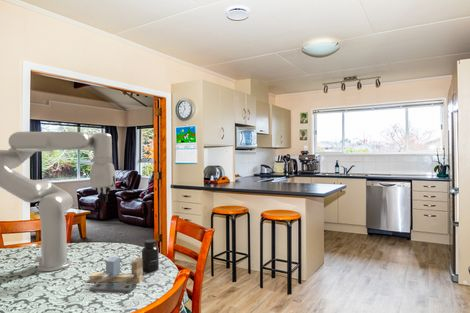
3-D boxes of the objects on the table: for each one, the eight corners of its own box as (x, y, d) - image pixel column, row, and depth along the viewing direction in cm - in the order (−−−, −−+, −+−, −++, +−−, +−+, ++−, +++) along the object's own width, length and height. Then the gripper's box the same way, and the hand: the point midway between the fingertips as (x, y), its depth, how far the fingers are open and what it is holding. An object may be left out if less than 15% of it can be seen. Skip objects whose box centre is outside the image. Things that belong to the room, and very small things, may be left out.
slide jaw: (98, 282, 113) (98, 265, 113) (113, 272, 123) (112, 257, 123) (106, 282, 113) (106, 266, 113) (120, 272, 123) (120, 257, 123)
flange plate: (89, 291, 111) (89, 287, 111) (97, 285, 116) (97, 282, 116) (130, 292, 109) (130, 289, 109) (136, 286, 114) (136, 283, 114)
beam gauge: (79, 287, 114) (79, 265, 114) (95, 276, 124) (95, 256, 124) (132, 289, 111) (131, 267, 111) (143, 278, 121) (143, 257, 121)
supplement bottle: (154, 273, 127) (153, 243, 127) (138, 272, 128) (138, 242, 128) (161, 267, 134) (161, 239, 134) (146, 266, 135) (146, 238, 135)
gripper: (82, 161, 137) (82, 203, 137) (114, 161, 135) (114, 204, 135) (92, 161, 144) (93, 201, 144) (123, 160, 142) (123, 201, 142)
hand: (103, 202), depth 140 cm, fingers closed
